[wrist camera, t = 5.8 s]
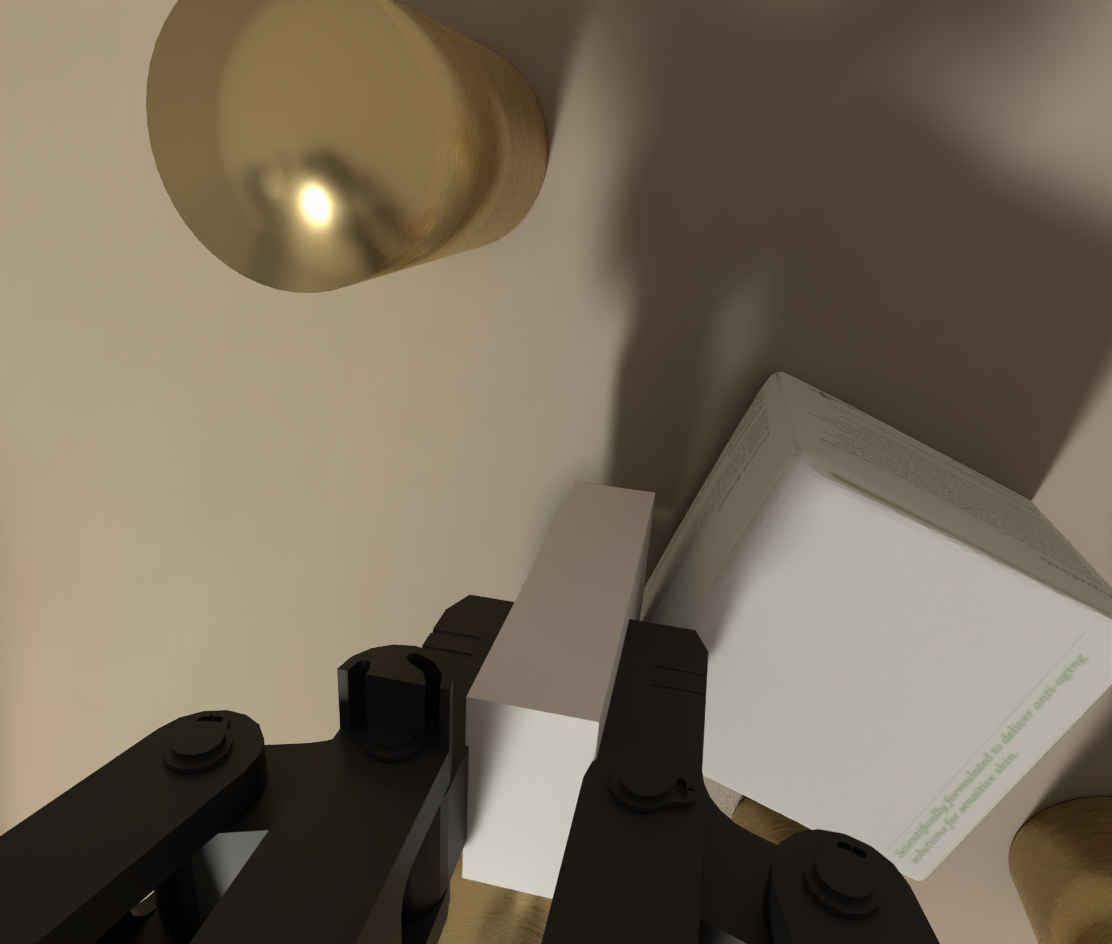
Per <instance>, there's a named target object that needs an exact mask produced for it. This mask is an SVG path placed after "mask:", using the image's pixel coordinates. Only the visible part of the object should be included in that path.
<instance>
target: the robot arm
mask: <svg viewBox="0 0 1112 944" xmlns="http://www.w3.org/2000/svg"><path fill="white" fill-rule="evenodd" d="M654 499H655V492H647V491H640V490H633V489H626V488H618V487H611V486H604V485H597V484H589V483H582V482H576V483H575V485H574V487H573V489H572V491H571V493H570V495H569V497H568V499H567V501H566V502H565V504H564V506H563V508H562V510H561V512H560V514H559V516H558V518H557V520H556V522H555V524H554V526H553V528H552V530H551V532H550V534H549V536H548V538H547V540H546V542H545V544H544V546H543V548H542V549H541V551H540V553H539V555H538V557H537V559H536V561H535V563H534V565H533V567H532V569H531V571H530V573H529V575H528V577H527V579H526V581H525V583H524V585H523V587H522V589H521V591H520V593H519V595H518V597H517V598H516V600H515V602H510V601H504V600H498V599H492V598H486V597H480V596H474V595H469V596H467V597H465V598H464V599H462V600H461V601H459V602H457V603H456V604H454V605H453V606H451V607H449V608H448V609H446V610H445V612H444V613H443V615H442V616H441V618H440V619H439V621H438V622H437V624H436V626H435V627H434V629H433V633H430V635H429V636H428V638H427V639H426V641H425V642H424V644H423V646H422V648H420V647H417V646H407V645H389V646H383V647H377V648H371V649H369V650H366V651H364V652H361V653H359V654H357V655H354V656H352V657H351V658H349V659H348V660H347V661H346V662H345V663H344V664H342V665H341V666H340V667H339V668H338V669H337V673H338V692H339V712H340V730H339V731H338V732H337V734H336V735H335V737H334V738H333V739H331V740H328V741H322V742H314V743H302V744H280V745H264V737H263V735H262V732H261V729H260V726H259V724H257V723H256V722H255V721H253V720H252V719H251V718H249V717H248V716H247V715H244V714H240V713H236V712H232V711H228V710H222V711H203V712H199V713H195V714H192V715H188V716H184V717H180V718H178V719H176V720H174V721H172V722H170V723H168V724H166V725H165V726H163V727H161V728H159V729H157V730H156V731H154V732H153V733H151V734H150V735H148V736H147V737H145V738H144V739H142V740H141V741H139V742H138V743H136V744H135V745H134V746H132V747H131V748H129V749H128V750H126V751H125V752H123V753H122V754H120V755H119V756H117V757H116V758H114V759H113V760H112V761H110V762H109V763H107V764H106V765H104V766H103V767H101V768H100V769H98V770H97V771H95V772H94V773H92V774H91V775H90V776H88V777H87V778H85V779H84V780H82V781H81V782H79V783H78V784H76V785H75V786H73V787H72V788H70V789H69V790H68V791H66V792H65V793H63V794H62V795H60V796H59V797H57V798H56V799H54V800H53V801H51V802H50V803H48V804H47V805H46V806H44V807H43V808H41V809H40V810H38V811H37V812H35V813H34V814H32V815H31V816H29V817H28V818H26V819H25V820H24V821H22V822H21V823H19V824H18V825H16V826H15V827H13V828H12V829H10V830H9V831H7V832H6V833H4V834H3V835H2V836H0V944H438V941H439V938H440V936H441V933H442V931H443V928H444V925H445V923H446V920H447V917H448V910H449V904H450V880H451V877H452V875H453V872H454V870H455V867H456V865H457V862H458V860H459V858H460V855H461V853H462V850H463V866H462V878H465V879H469V880H473V881H478V882H482V883H486V884H491V885H495V886H499V887H504V888H508V889H512V890H516V891H520V892H525V893H529V894H533V895H537V896H542V897H546V898H550V899H552V903H551V907H550V911H549V915H548V918H547V922H546V926H545V930H544V934H543V938H542V942H541V944H940V943H939V941H938V939H937V937H936V935H935V933H934V931H933V930H932V928H931V926H930V924H929V922H928V920H927V918H926V916H925V914H924V912H923V910H922V908H921V906H920V904H919V903H918V901H917V899H916V897H915V895H914V893H913V891H912V889H911V887H910V885H909V884H908V883H907V881H906V880H905V879H904V877H903V876H902V875H901V873H900V872H899V871H898V869H897V868H896V866H895V865H894V864H893V863H892V862H891V861H889V860H888V859H887V858H886V857H884V856H883V855H882V854H881V853H879V852H878V851H877V850H875V849H874V848H873V847H872V846H870V845H868V844H866V843H864V842H862V841H859V840H857V839H855V838H853V837H851V836H849V835H846V834H844V833H838V832H832V831H827V830H821V829H815V830H809V831H802V832H796V833H794V834H793V835H791V836H790V837H788V838H786V839H785V840H783V841H782V842H780V843H779V845H776V844H774V843H772V842H770V841H768V840H766V839H764V838H762V837H760V836H757V835H755V834H753V833H751V832H750V831H748V830H746V829H745V828H743V827H741V826H740V825H738V824H736V823H735V822H733V821H732V820H731V819H730V818H729V817H728V816H726V815H725V814H724V813H723V812H722V811H721V810H720V809H719V808H718V807H717V805H716V804H715V803H714V802H713V800H712V799H711V798H710V796H709V794H708V792H707V789H706V787H705V785H704V781H703V772H702V765H703V746H704V728H705V709H706V690H707V671H708V650H707V649H706V647H705V645H704V644H703V642H702V640H701V639H700V637H699V635H698V634H697V632H696V630H692V629H686V628H680V627H674V626H668V625H662V624H656V623H650V622H644V621H640V618H641V610H642V601H643V593H644V584H645V576H646V567H647V559H648V550H649V542H650V533H651V525H652V516H653V508H654ZM153 890H154V892H153V893H152V894H151V895H150V896H149V897H148V898H146V899H145V900H143V899H144V898H145V897H146V896H147V895H149V894H150V893H151V892H152V891H153ZM142 900H143V901H142ZM141 901H142V902H141ZM139 902H140V903H139ZM138 903H139V904H138Z"/></svg>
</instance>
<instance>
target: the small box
mask: <svg viewBox="0 0 1112 944" xmlns="http://www.w3.org/2000/svg"><path fill="white" fill-rule="evenodd" d="M640 621H644V622H650V623H656V624H662V625H668V626H674V627H680V628H686V629H692V630H696V632H697V634H698V635H699V637H700V639H701V640H702V642H703V644H704V645H705V647H706V649H707V650H708V671H707V690H706V709H705V728H704V746H703V765H702V772H703V775H704V776H706V777H708V778H710V779H712V780H714V781H716V782H718V783H720V784H722V785H724V786H726V787H728V788H730V789H732V790H734V791H736V792H738V793H740V794H742V795H744V796H746V797H748V798H750V799H752V800H754V801H756V802H758V803H760V804H762V805H764V806H766V807H768V808H770V809H772V810H774V811H776V812H778V813H780V814H782V815H784V816H786V817H788V818H790V819H792V820H794V821H796V822H798V823H800V824H802V825H804V826H805V827H807V828H809V829H811V830H815V829H821V830H827V831H832V832H838V833H844V834H846V835H849V836H851V837H853V838H855V839H857V840H859V841H862V842H864V843H866V844H868V845H870V846H872V847H873V848H874V849H875V850H877V851H878V852H879V853H881V854H882V855H883V856H884V857H886V858H887V859H888V860H889V861H891V862H892V863H893V864H894V865H895V866H896V868H897V869H898V871H899V872H900V873H902V874H904V875H906V876H908V877H910V878H912V879H914V880H916V881H921V880H924V879H926V878H927V877H928V876H929V875H930V874H931V873H932V872H933V871H934V869H935V868H936V867H937V866H938V865H939V864H940V863H941V862H942V861H943V860H944V859H945V858H946V857H947V856H948V855H949V854H950V853H951V852H952V851H953V850H954V849H955V847H956V846H957V845H958V844H959V843H960V842H961V841H962V840H963V839H964V838H965V837H966V836H967V835H968V834H969V833H970V831H971V830H972V829H973V828H974V827H975V826H976V825H977V824H978V823H979V822H980V821H981V820H982V819H983V818H984V817H985V816H986V815H987V814H988V813H989V812H990V811H991V810H992V809H993V808H994V806H995V805H996V804H997V803H998V802H999V801H1000V800H1001V799H1002V798H1003V797H1004V796H1005V795H1006V794H1007V793H1008V792H1009V791H1010V789H1012V788H1013V787H1014V786H1015V785H1016V784H1017V783H1018V781H1019V780H1020V779H1021V778H1022V777H1023V776H1024V775H1025V774H1026V773H1027V772H1028V771H1029V770H1030V769H1031V768H1032V767H1033V766H1034V765H1035V764H1036V763H1037V762H1038V761H1039V759H1040V758H1041V757H1042V756H1043V755H1044V754H1045V753H1046V752H1047V751H1048V750H1049V749H1050V748H1051V747H1052V746H1053V745H1054V744H1055V743H1056V742H1057V741H1058V740H1059V739H1060V738H1061V737H1062V736H1063V734H1064V733H1065V732H1066V731H1067V730H1068V729H1069V728H1070V727H1071V726H1072V725H1073V724H1074V723H1075V722H1076V721H1077V720H1078V719H1079V718H1080V717H1081V716H1082V715H1083V714H1084V712H1085V711H1086V710H1087V709H1088V708H1089V707H1090V706H1091V705H1092V704H1093V703H1094V702H1095V701H1096V700H1097V699H1098V698H1099V697H1100V696H1101V695H1102V694H1103V693H1104V692H1105V691H1106V690H1107V689H1108V688H1109V687H1110V686H1111V684H1112V588H1111V586H1110V585H1109V584H1108V583H1107V582H1106V581H1105V580H1104V579H1103V578H1102V577H1101V576H1100V575H1099V574H1098V573H1097V572H1096V570H1095V569H1094V568H1093V567H1092V566H1091V565H1090V564H1089V563H1088V562H1087V561H1086V560H1085V559H1084V558H1083V557H1082V556H1081V555H1080V553H1079V552H1078V551H1077V550H1076V549H1075V548H1074V547H1073V546H1072V545H1071V543H1070V542H1069V541H1068V540H1067V539H1066V538H1065V537H1064V536H1063V535H1062V534H1061V533H1060V532H1059V531H1058V530H1057V529H1056V528H1055V527H1054V525H1053V524H1052V523H1051V522H1050V521H1049V520H1048V519H1047V518H1046V517H1045V516H1044V515H1043V514H1042V513H1041V511H1040V510H1039V509H1038V508H1037V507H1036V506H1035V505H1034V504H1033V503H1032V502H1031V501H1030V500H1029V499H1027V498H1025V497H1023V496H1021V495H1019V494H1017V493H1016V492H1014V491H1012V490H1010V489H1008V488H1006V487H1004V486H1003V485H1001V484H999V483H997V482H995V481H993V480H991V479H990V478H988V477H986V476H984V475H982V474H980V473H978V472H976V471H975V470H973V469H971V468H969V467H967V466H965V465H963V464H961V463H959V462H957V461H956V460H954V459H952V458H950V457H948V456H946V455H944V454H942V453H940V452H938V451H936V450H935V449H933V448H931V447H929V446H927V445H925V444H923V443H921V442H919V441H917V440H915V439H914V438H912V437H910V436H908V435H906V434H904V433H902V432H900V431H898V430H897V429H895V428H893V427H891V426H889V425H887V424H885V423H883V422H881V421H879V420H877V419H876V418H874V417H872V416H870V415H868V414H866V413H864V412H862V411H861V410H859V409H857V408H855V407H853V406H851V405H849V404H847V403H845V402H843V401H841V400H839V399H837V398H835V397H833V396H831V395H829V394H827V393H825V392H823V391H821V390H819V389H817V388H815V387H813V386H811V385H809V384H807V383H805V382H803V381H801V380H799V379H797V378H795V377H793V376H791V375H789V374H787V373H784V372H777V373H774V374H772V375H771V376H770V377H769V378H768V379H767V381H766V382H765V384H764V385H763V387H762V388H761V390H760V391H759V393H758V394H757V396H756V398H755V399H754V401H753V403H752V404H751V406H750V407H749V409H748V411H747V412H746V414H745V415H744V417H743V419H742V420H741V422H740V423H739V425H738V427H737V428H736V430H735V432H734V433H733V435H732V437H731V438H730V440H729V442H728V443H727V445H726V447H725V449H724V450H723V452H722V454H721V455H720V457H719V459H718V461H717V462H716V464H715V466H714V468H713V469H712V471H711V473H710V474H709V476H708V478H707V479H706V481H705V483H704V484H703V486H702V488H701V490H700V491H699V493H698V495H697V496H696V498H695V500H694V501H693V503H692V505H691V507H690V508H689V510H688V512H687V513H686V515H685V517H684V519H683V520H682V522H681V524H680V526H679V527H678V529H677V531H676V532H675V534H674V536H673V538H672V539H671V541H670V543H669V545H668V546H667V548H666V550H665V551H664V553H663V555H662V557H661V559H660V561H659V562H658V564H657V566H656V568H655V570H654V571H653V573H652V575H651V577H650V578H649V580H648V582H647V584H646V586H645V588H644V596H643V602H642V610H641V618H640Z"/></svg>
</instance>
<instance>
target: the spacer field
mask: <svg viewBox="0 0 1112 944" xmlns="http://www.w3.org/2000/svg"><path fill="white" fill-rule="evenodd" d="M146 108H147V124H148V131H149V137H150V142H151V148H152V151H153V155H154V159H155V162H156V166H157V169H158V171H159V174H160V177H161V179H162V182H163V184H164V187H165V189H166V191H167V193H168V195H169V197H170V199H171V201H172V203H173V205H174V206H175V208H176V210H177V211H178V213H179V214H180V216H181V217H182V219H183V220H184V222H185V224H186V225H187V226H188V227H189V229H190V230H191V231H192V232H193V233H194V235H195V236H196V237H197V238H198V240H199V241H200V242H201V243H202V244H203V245H204V246H205V247H206V248H207V249H208V250H209V251H210V252H211V253H212V254H213V255H215V256H216V257H217V258H218V259H220V260H221V261H222V262H223V263H225V264H226V265H227V266H229V267H230V268H232V269H233V270H235V271H237V272H238V273H240V274H241V275H243V276H245V277H247V278H249V279H251V280H254V281H256V282H258V283H260V284H263V285H266V286H269V287H272V288H275V289H279V290H285V291H291V292H301V293H316V292H324V291H331V290H335V289H339V288H342V287H346V286H349V285H353V284H356V283H359V282H363V281H366V280H370V279H373V278H376V277H380V276H383V275H386V274H390V273H393V272H397V271H400V270H403V269H407V268H410V267H413V266H417V265H420V264H424V263H427V262H430V261H434V260H437V259H440V258H444V257H447V256H451V255H454V254H457V253H461V252H464V251H467V250H471V249H474V248H478V247H481V246H484V245H487V244H489V243H492V242H494V241H496V240H498V239H500V238H501V237H503V236H505V235H506V234H508V233H509V232H510V231H511V230H513V229H514V228H515V227H516V226H517V225H518V224H519V223H520V222H521V221H522V220H523V219H524V218H525V216H526V215H527V213H528V212H529V211H530V209H531V208H532V206H533V204H534V202H535V200H536V199H537V197H538V195H539V192H540V189H541V187H542V184H543V180H544V176H545V172H546V166H547V157H548V141H547V132H546V126H545V122H544V118H543V114H542V111H541V108H540V106H539V103H538V100H537V99H536V97H535V95H534V93H533V91H532V89H531V87H530V86H529V84H528V83H527V82H526V80H525V79H524V77H523V76H522V75H521V74H520V73H519V72H518V70H517V69H516V68H515V67H514V66H513V65H512V64H510V63H509V62H508V61H507V60H506V59H505V58H503V57H502V56H500V55H499V54H497V53H496V52H494V51H492V50H490V49H489V48H487V47H485V46H483V45H481V44H479V43H477V42H475V41H473V40H471V39H469V38H467V37H465V36H463V35H461V34H460V33H458V32H456V31H454V30H452V29H450V28H448V27H446V26H444V25H442V24H440V23H438V22H436V21H434V20H432V19H431V18H429V17H427V16H425V15H423V14H421V13H419V12H417V11H415V10H413V9H411V8H409V7H407V6H405V5H403V4H401V3H400V2H398V1H396V0H179V1H178V2H177V3H176V4H175V6H174V7H173V9H172V11H171V12H170V14H169V16H168V17H167V19H166V21H165V22H164V25H163V27H162V29H161V32H160V34H159V36H158V39H157V41H156V44H155V48H154V51H153V55H152V58H151V62H150V68H149V74H148V81H147V98H146ZM732 821H733V822H735V823H736V824H738V825H740V826H741V827H743V828H745V829H746V830H748V831H750V832H751V833H753V834H755V835H757V836H760V837H762V838H764V839H766V840H768V841H770V842H772V843H774V844H776V845H779V843H780V842H782V841H783V840H785V839H786V838H788V837H790V836H791V835H793V834H794V833H796V832H802V831H809V830H811V829H809V828H807V827H805V826H804V825H802V824H800V823H798V822H796V821H794V820H792V819H790V818H788V817H786V816H784V815H782V814H780V813H778V812H776V811H774V810H772V809H770V808H768V807H766V806H764V805H762V804H760V803H758V802H756V801H754V800H752V799H750V798H748V797H745V798H744V799H743V800H742V801H741V803H740V804H739V805H738V807H737V808H736V810H735V812H734V814H733V817H732ZM462 866H463V850H462V853H461V855H460V858H459V860H458V862H457V865H456V867H455V870H454V872H453V875H452V877H451V880H450V904H449V910H448V917H447V920H446V923H445V925H444V928H443V931H442V933H441V936H440V938H439V941H438V944H541V942H542V938H543V934H544V930H545V926H546V922H547V918H548V915H549V911H550V907H551V903H552V899H550V898H546V897H542V896H537V895H533V894H529V893H525V892H520V891H516V890H512V889H508V888H504V887H499V886H495V885H491V884H486V883H482V882H478V881H473V880H469V879H465V878H462ZM1009 869H1010V873H1011V876H1012V879H1013V882H1014V884H1015V886H1016V889H1017V891H1018V894H1019V896H1020V899H1021V901H1022V904H1023V906H1024V909H1025V911H1026V914H1027V916H1028V919H1029V921H1030V924H1031V926H1032V929H1033V931H1034V934H1035V936H1036V939H1037V941H1038V944H1112V797H1088V798H1081V799H1076V800H1071V801H1067V802H1064V803H1061V804H1058V805H1055V806H1053V807H1051V808H1049V809H1047V810H1044V811H1043V812H1041V813H1040V814H1038V815H1036V816H1035V817H1034V818H1032V819H1031V820H1030V821H1029V822H1027V823H1026V824H1025V825H1024V826H1023V828H1022V829H1021V830H1020V831H1019V832H1018V834H1017V835H1016V837H1015V839H1014V841H1013V843H1012V845H1011V849H1010V852H1009Z"/></svg>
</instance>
